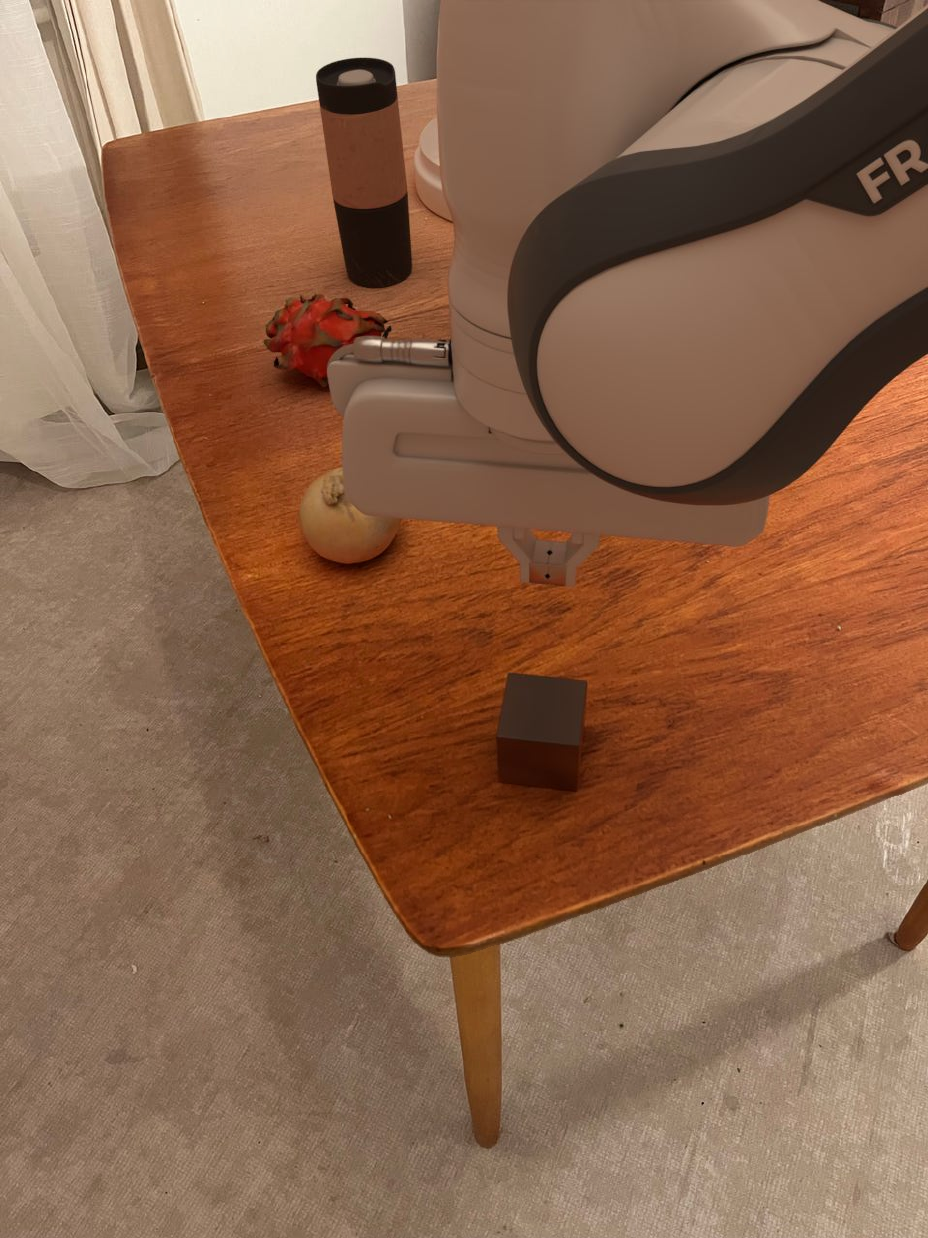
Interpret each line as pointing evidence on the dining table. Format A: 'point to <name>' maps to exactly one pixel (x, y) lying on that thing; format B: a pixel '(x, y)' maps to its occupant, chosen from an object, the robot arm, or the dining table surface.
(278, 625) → the dining table surface
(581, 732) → the block
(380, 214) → the travel mug
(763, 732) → the dining table surface
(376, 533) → the onion
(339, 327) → the dragon fruit
